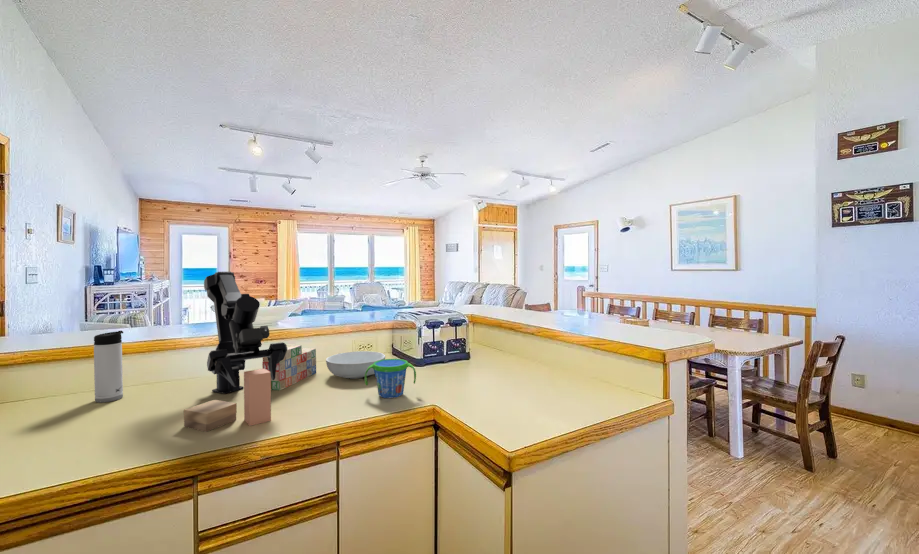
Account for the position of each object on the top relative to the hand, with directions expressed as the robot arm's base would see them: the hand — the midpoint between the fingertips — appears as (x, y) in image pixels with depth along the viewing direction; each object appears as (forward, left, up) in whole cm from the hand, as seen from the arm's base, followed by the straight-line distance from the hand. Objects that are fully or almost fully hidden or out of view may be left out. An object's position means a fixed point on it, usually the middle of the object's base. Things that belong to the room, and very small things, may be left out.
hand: (255, 382), depth 104 cm
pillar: (+2, -1, -9) cm, 10 cm away
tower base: (-7, -7, -10) cm, 14 cm away
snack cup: (+22, +30, -10) cm, 38 cm away
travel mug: (-52, -7, -9) cm, 54 cm away
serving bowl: (-2, +44, -10) cm, 45 cm away
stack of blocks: (-18, +30, -10) cm, 36 cm away
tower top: (-7, -7, -7) cm, 12 cm away
